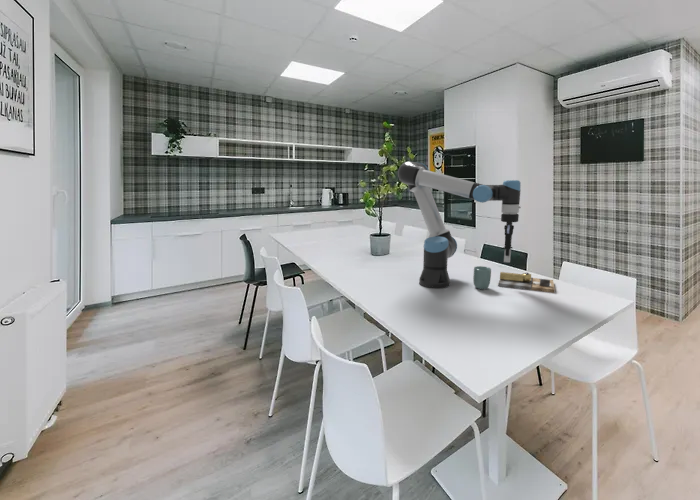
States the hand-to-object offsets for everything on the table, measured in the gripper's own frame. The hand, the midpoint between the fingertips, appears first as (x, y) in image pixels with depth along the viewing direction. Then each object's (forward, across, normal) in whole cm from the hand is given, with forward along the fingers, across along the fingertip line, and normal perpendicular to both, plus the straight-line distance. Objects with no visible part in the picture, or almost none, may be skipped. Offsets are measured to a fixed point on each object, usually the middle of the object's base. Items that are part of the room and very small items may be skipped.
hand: (506, 261), depth 169 cm
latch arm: (+10, +6, -4) cm, 13 cm away
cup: (+12, -8, +10) cm, 18 cm away
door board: (+12, +8, -9) cm, 17 cm away
